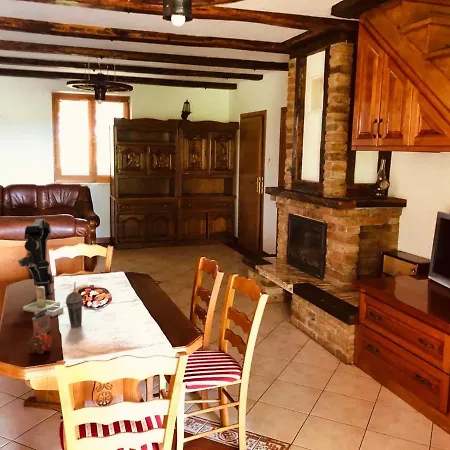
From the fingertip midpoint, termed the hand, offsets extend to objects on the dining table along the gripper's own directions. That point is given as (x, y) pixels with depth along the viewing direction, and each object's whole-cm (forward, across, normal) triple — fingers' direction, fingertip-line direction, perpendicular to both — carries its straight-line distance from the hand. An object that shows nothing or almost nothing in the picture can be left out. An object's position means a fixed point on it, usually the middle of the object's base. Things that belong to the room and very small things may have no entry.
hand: (38, 280), depth 244 cm
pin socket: (+15, +16, 0) cm, 22 cm away
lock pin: (+13, +4, -1) cm, 13 cm away
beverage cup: (+18, +39, +2) cm, 43 cm away
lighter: (+18, +36, -12) cm, 42 cm away
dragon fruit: (+21, +55, -20) cm, 62 cm away
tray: (+13, +4, -1) cm, 14 cm away
